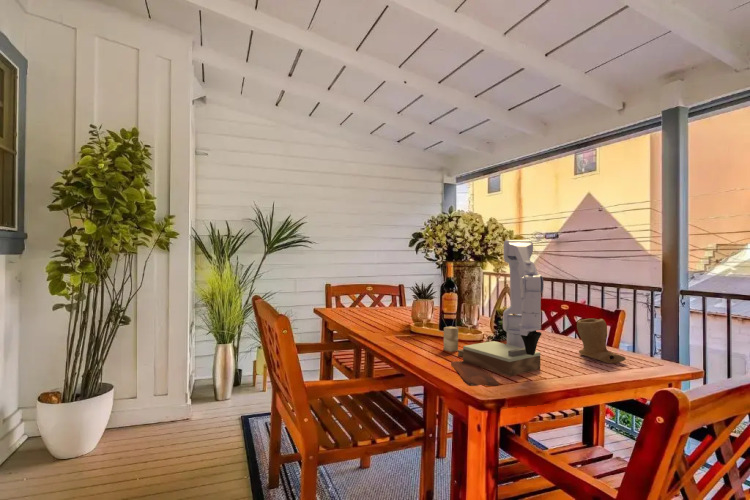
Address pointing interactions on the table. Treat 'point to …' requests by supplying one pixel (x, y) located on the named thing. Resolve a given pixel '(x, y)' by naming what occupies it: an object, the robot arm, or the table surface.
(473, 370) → the wooden tablet
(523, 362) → the shallow rectangular box
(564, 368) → the table surface
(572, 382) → the table surface
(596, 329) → the brown suede boot
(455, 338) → the beige tall block
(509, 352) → the lid
